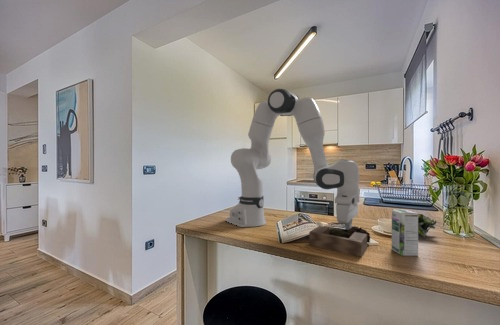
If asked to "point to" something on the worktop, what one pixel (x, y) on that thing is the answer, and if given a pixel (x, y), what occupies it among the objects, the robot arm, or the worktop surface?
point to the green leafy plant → (424, 224)
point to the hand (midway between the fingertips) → (348, 229)
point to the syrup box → (405, 232)
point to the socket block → (338, 241)
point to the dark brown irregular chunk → (347, 232)
